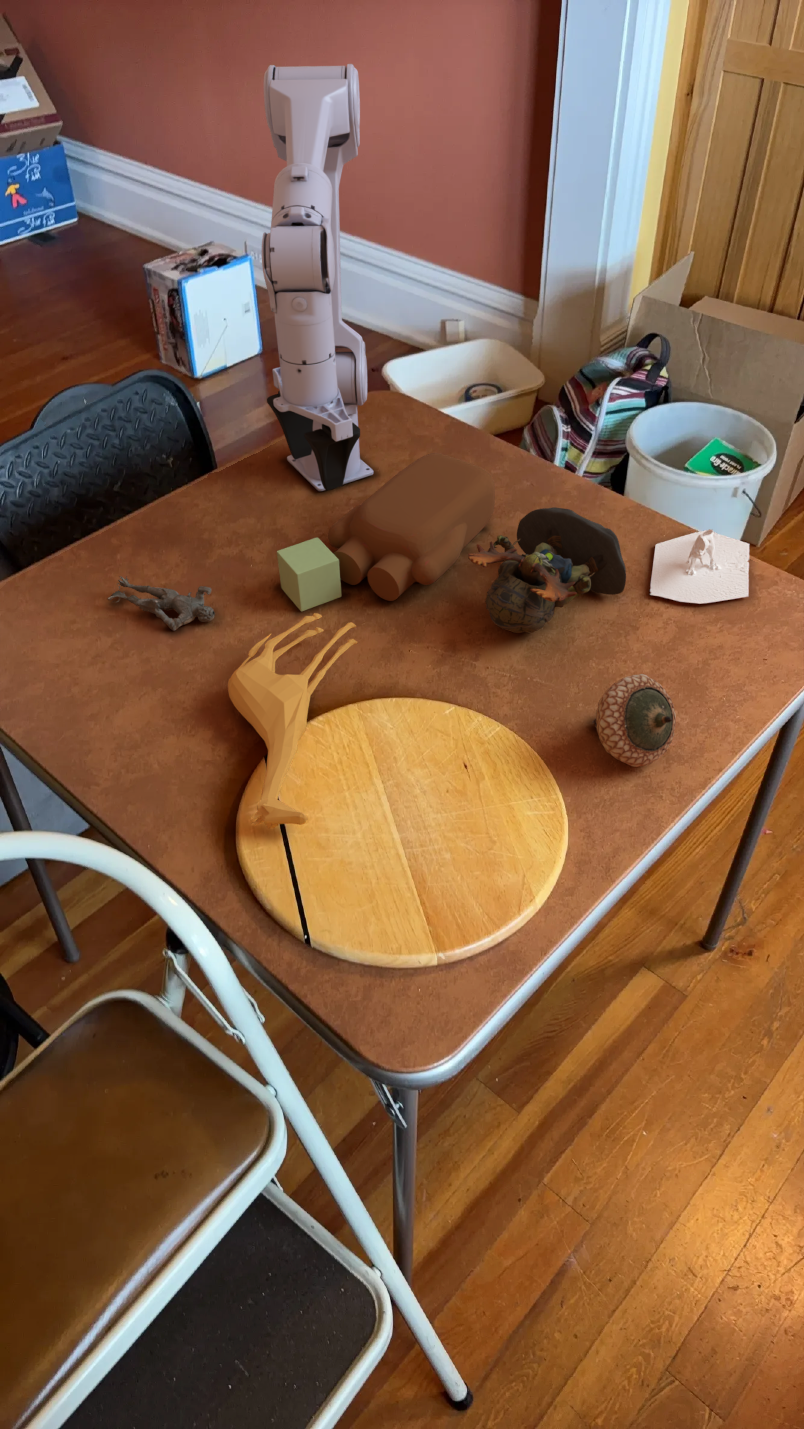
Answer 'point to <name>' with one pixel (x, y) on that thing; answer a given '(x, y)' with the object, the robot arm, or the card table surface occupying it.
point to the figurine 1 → (170, 603)
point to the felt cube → (309, 574)
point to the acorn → (635, 720)
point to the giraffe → (279, 712)
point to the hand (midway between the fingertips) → (317, 471)
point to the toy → (414, 525)
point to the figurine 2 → (550, 567)
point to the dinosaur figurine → (701, 568)
